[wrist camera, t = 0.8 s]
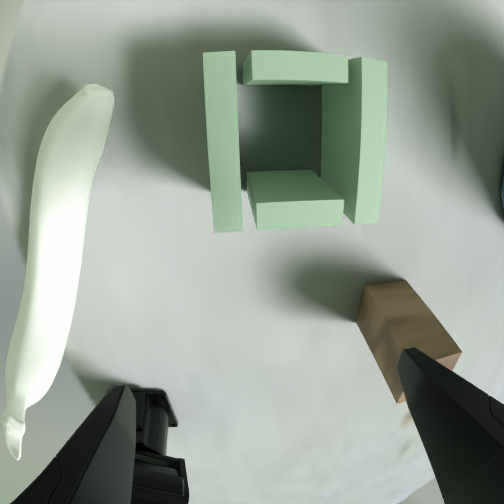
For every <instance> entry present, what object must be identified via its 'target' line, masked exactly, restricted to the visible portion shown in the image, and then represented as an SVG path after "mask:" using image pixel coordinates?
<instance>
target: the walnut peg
mask: <svg viewBox="0 0 504 504" xmlns="http://www.w3.org/2000/svg"><path fill="white" fill-rule="evenodd" d="M357 325H358V327H359V329H360V330H361V332H362V334H363V336H364V338H365V340H366V342H367V344H368V346H369V348H370V350H371V352H372V354H373V356H374V358H375V360H376V362H377V364H378V366H379V368H380V370H381V372H382V374H383V376H384V378H385V380H386V382H387V384H388V386H389V388H390V390H391V392H392V395H393V397H394V399H395V401H396V403H401V402H404V401H406V399H405V395H404V392H403V388H402V385H401V382H400V379H399V376H398V372H397V363H398V360H399V357H400V354H401V351H402V350H403V349H404V348H407V347H411V346H413V347H416V348H417V349H419V350H420V351H422V352H424V353H425V354H427V355H428V356H430V357H431V358H433V359H434V360H436V361H437V362H439V363H441V364H442V365H444V366H445V367H447V368H448V369H450V370H451V371H452V370H453V368H454V366H455V364H456V363H457V361H458V359H459V357H460V355H461V353H462V351H461V350H460V348H459V347H458V346H457V344H456V343H455V342H454V340H453V339H452V338H451V336H450V335H449V334H448V332H447V331H446V330H445V328H444V327H443V326H442V324H441V323H440V322H439V321H438V319H437V318H436V317H435V315H434V314H433V313H432V312H431V310H430V309H429V308H428V307H427V305H426V304H425V303H424V302H423V300H422V299H421V298H420V297H419V295H418V294H417V293H416V292H415V291H414V289H413V288H412V287H411V286H410V285H409V283H408V282H407V281H406V280H401V281H394V282H385V283H377V284H369V285H364V289H363V294H362V299H361V305H360V310H359V314H358V319H357Z"/></svg>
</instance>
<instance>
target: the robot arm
mask: <svg viewBox="0 0 504 504" xmlns="http://www.w3.org/2000/svg"><path fill="white" fill-rule="evenodd" d="M397 372H398V376H399V379H400V382H401V385H402V388H403V392H404V395H405V399H406V402H407V405H408V408H409V410H410V413H411V415H412V418H413V420H414V423H415V425H416V427H417V430H418V432H419V435H420V437H421V440H422V442H423V445H424V448H425V450H426V453H427V455H428V458H429V461H430V463H431V466H432V469H433V471H434V474H435V477H436V479H437V482H438V485H439V488H440V491H441V494H442V497H443V499H444V503H445V504H504V404H502V403H501V402H499V401H497V400H496V399H494V398H493V397H491V396H488V394H487V393H485V392H484V391H482V390H480V389H479V388H477V387H476V386H474V385H473V384H471V383H470V382H468V381H467V380H465V379H464V378H462V377H461V376H459V375H457V374H456V373H454V372H453V371H451V370H450V369H448V368H447V367H445V366H444V365H442V364H441V363H439V362H437V361H436V360H434V359H433V358H431V357H430V356H428V355H427V354H425V353H424V352H422V351H420V350H419V349H417V348H416V347H413V346H411V347H407V348H404V349H403V350H402V351H401V354H400V357H399V360H398V363H397ZM177 426H178V421H177V419H176V416H175V414H174V411H173V409H172V406H171V404H170V401H169V399H168V396H167V394H166V393H165V392H163V391H131V390H130V389H129V387H128V386H127V385H126V384H115V385H113V386H112V388H111V389H110V390H107V393H106V395H105V396H104V397H103V398H102V400H101V401H100V402H99V403H98V405H97V406H96V407H95V408H94V409H93V411H92V412H91V413H90V414H89V415H88V417H87V418H86V419H85V420H84V422H83V423H82V424H81V426H79V428H78V429H77V430H76V431H75V433H74V434H73V435H72V436H71V437H70V439H69V440H68V441H67V442H66V444H65V445H64V446H63V447H62V449H61V450H60V451H59V452H58V454H57V455H56V457H54V459H53V460H52V461H51V462H50V463H49V465H48V466H47V467H46V468H45V469H44V470H43V472H42V473H41V474H40V475H39V476H38V477H37V478H36V479H35V480H34V481H33V482H32V483H31V484H30V485H29V486H28V487H27V488H26V489H25V490H24V491H23V492H22V493H21V494H20V495H19V496H18V497H17V498H16V499H15V500H14V501H13V502H12V503H10V504H188V501H189V488H188V481H187V474H186V467H185V460H184V459H182V458H173V457H169V456H166V448H167V435H168V427H177Z"/></svg>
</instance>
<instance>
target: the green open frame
mask: <svg viewBox="0 0 504 504" xmlns="http://www.w3.org/2000/svg"><path fill="white" fill-rule="evenodd" d="M242 68H243V86H244V85H303V86H315V85H322V133H321V175H320V177H319V176H318V175H317V174H315V173H314V172H313V171H312V170H276V171H253V172H246V176H247V193H248V197H249V201H250V205H251V209H252V212H253V216H254V220H255V224H256V228H257V230H267V229H283V228H300V227H318V226H336V225H342V221H343V213H344V214H345V215H346V216H347V217H348V218H349V219H350V220H351V221H352V223H353V224H354V225H356V224H378V217H379V209H380V201H381V192H382V182H383V171H384V158H385V144H386V125H387V61H384V60H378V59H371V58H365V57H359V58H355V59H350V60H348V55H341V54H332V53H320V52H306V51H283V50H252V51H251V52H250V54H249V55H248V57H247V58H246V60H245V62H244V63H243V65H242ZM203 70H204V92H205V111H206V128H207V144H208V159H209V173H210V187H211V199H212V212H213V223H214V233H222V232H236V231H243V223H242V201H241V179H240V156H239V132H238V107H237V81H236V54H235V51H220V52H206V53H203Z"/></svg>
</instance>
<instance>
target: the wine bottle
mask: <svg viewBox="0 0 504 504" xmlns="http://www.w3.org/2000/svg"><path fill="white" fill-rule="evenodd" d="M501 197H502V202H503V207H504V172H503V181H502V189H501Z"/></svg>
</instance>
